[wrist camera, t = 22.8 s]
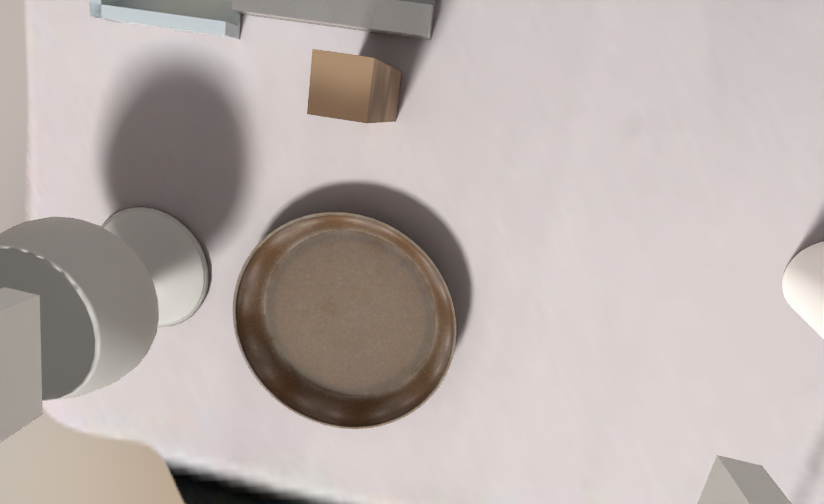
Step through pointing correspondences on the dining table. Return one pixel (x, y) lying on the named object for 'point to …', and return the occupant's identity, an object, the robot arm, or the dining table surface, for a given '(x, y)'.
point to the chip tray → (173, 15)
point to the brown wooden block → (353, 88)
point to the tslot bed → (350, 14)
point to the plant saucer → (344, 320)
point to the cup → (807, 285)
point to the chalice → (103, 290)
